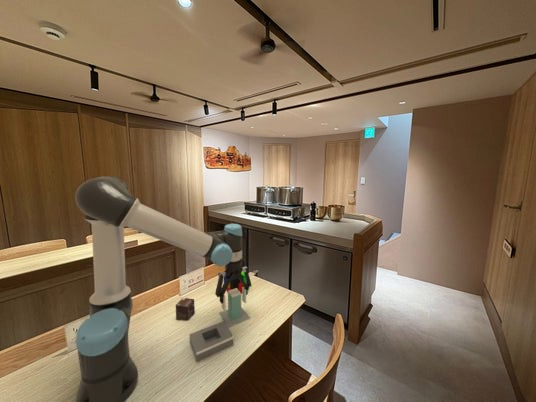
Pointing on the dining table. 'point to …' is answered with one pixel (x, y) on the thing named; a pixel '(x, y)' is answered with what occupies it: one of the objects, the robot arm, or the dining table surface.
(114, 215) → the robot arm
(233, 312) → the plug
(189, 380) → the dining table surface
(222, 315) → the mat
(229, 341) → the frame
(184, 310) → the box
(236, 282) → the puzzle toy
